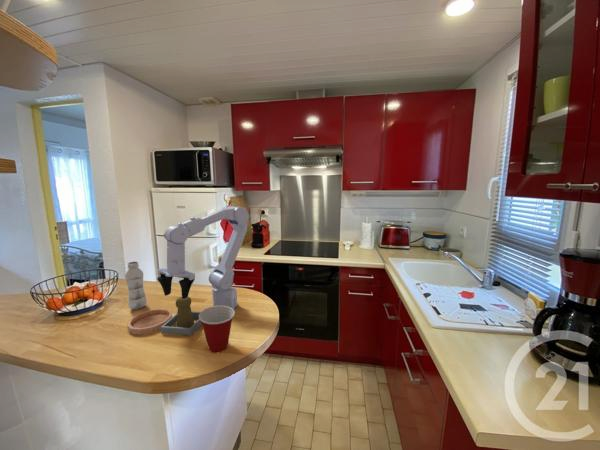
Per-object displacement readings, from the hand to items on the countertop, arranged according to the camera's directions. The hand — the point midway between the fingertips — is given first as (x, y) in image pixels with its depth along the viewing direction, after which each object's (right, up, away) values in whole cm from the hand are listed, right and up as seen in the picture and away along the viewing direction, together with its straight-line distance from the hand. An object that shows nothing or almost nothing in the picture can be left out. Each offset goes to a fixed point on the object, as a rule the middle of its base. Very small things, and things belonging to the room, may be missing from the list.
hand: (176, 296), depth 87 cm
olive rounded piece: (+2, -12, +2) cm, 12 cm away
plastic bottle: (-24, -10, +15) cm, 30 cm away
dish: (-12, -11, +4) cm, 17 cm away
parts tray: (+2, -12, +2) cm, 12 cm away
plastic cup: (+19, -14, -10) cm, 25 cm away
